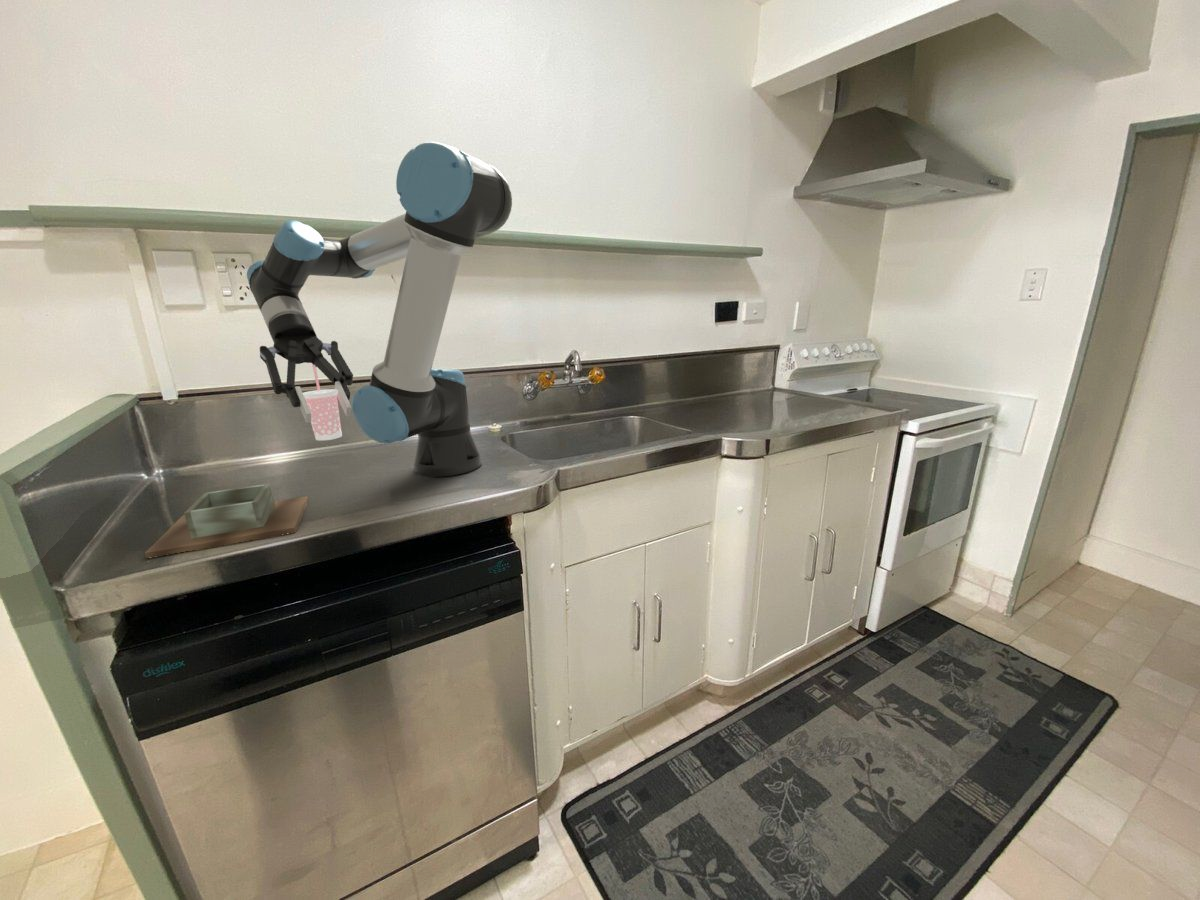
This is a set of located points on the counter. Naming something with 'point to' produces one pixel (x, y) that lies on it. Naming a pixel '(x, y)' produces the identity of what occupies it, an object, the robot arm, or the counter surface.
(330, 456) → the counter surface
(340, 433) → the beverage cup
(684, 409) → the counter surface
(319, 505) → the counter surface
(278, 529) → the cup holder
